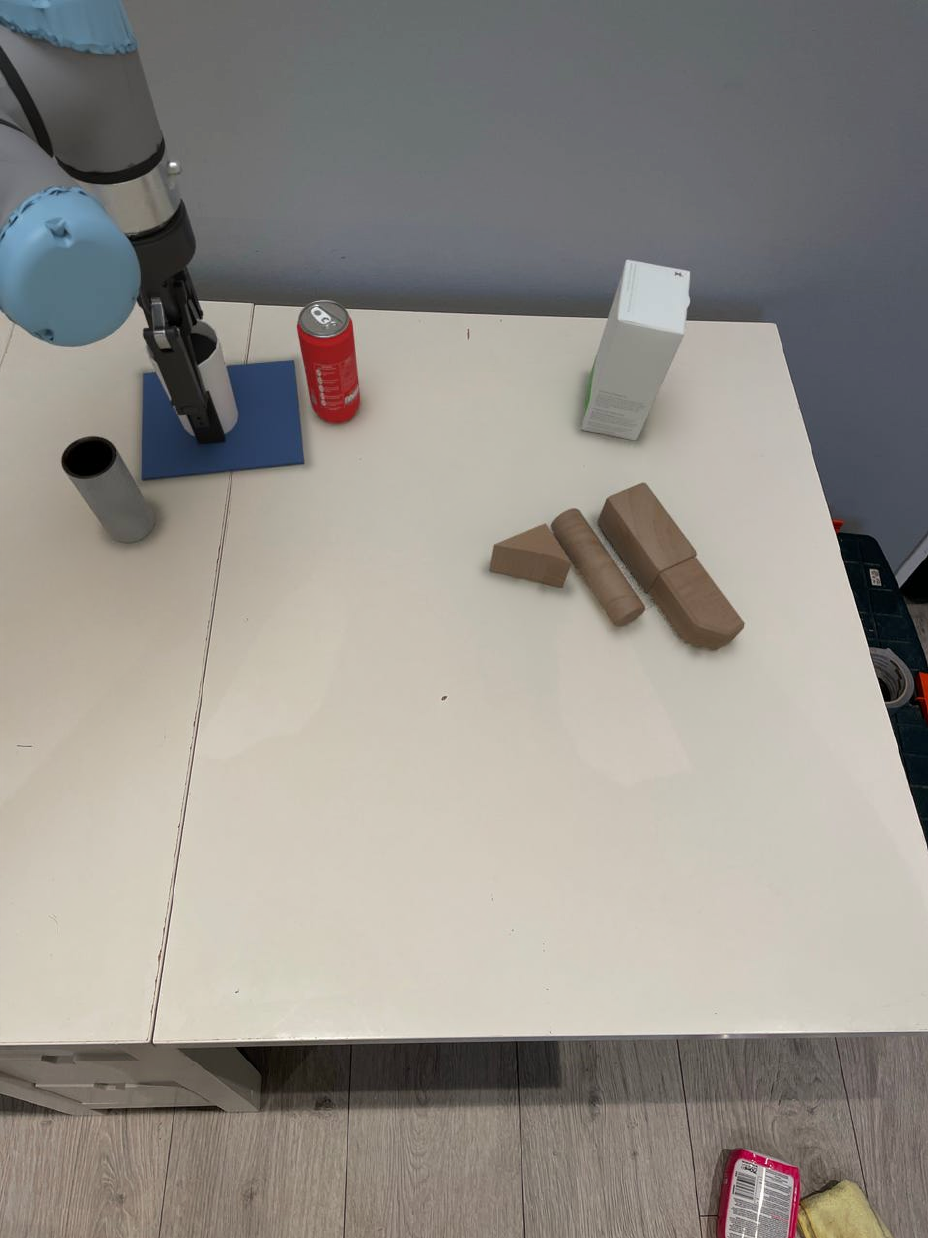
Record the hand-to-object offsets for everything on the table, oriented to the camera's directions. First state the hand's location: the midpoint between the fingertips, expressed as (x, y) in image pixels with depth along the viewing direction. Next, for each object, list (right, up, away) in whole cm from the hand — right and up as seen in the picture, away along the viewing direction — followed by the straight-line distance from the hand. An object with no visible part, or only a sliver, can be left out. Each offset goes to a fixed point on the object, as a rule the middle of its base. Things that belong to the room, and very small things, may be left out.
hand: (210, 414), depth 77 cm
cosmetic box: (+43, +2, +4) cm, 43 cm away
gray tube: (-6, -12, -5) cm, 14 cm away
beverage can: (+13, +1, +2) cm, 13 cm away
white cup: (0, 0, 0) cm, 0 cm away
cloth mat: (+1, 0, +1) cm, 1 cm away
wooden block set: (+40, -20, -6) cm, 45 cm away
